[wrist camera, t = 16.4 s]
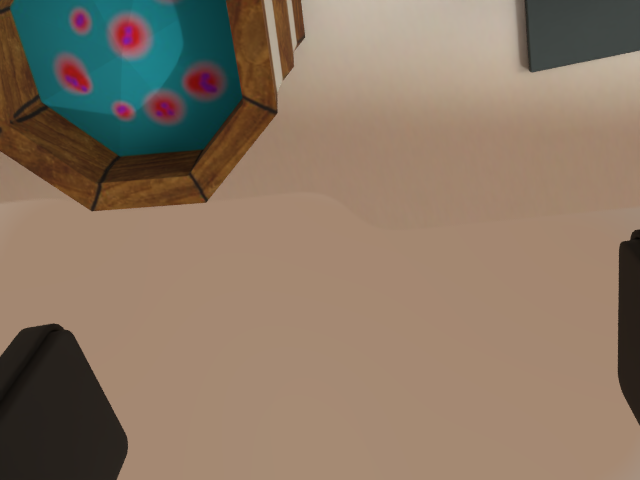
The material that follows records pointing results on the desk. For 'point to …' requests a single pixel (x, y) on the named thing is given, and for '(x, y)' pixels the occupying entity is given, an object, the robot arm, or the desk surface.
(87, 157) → the mug
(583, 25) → the mat
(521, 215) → the desk surface
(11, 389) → the robot arm
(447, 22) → the desk surface
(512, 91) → the desk surface
